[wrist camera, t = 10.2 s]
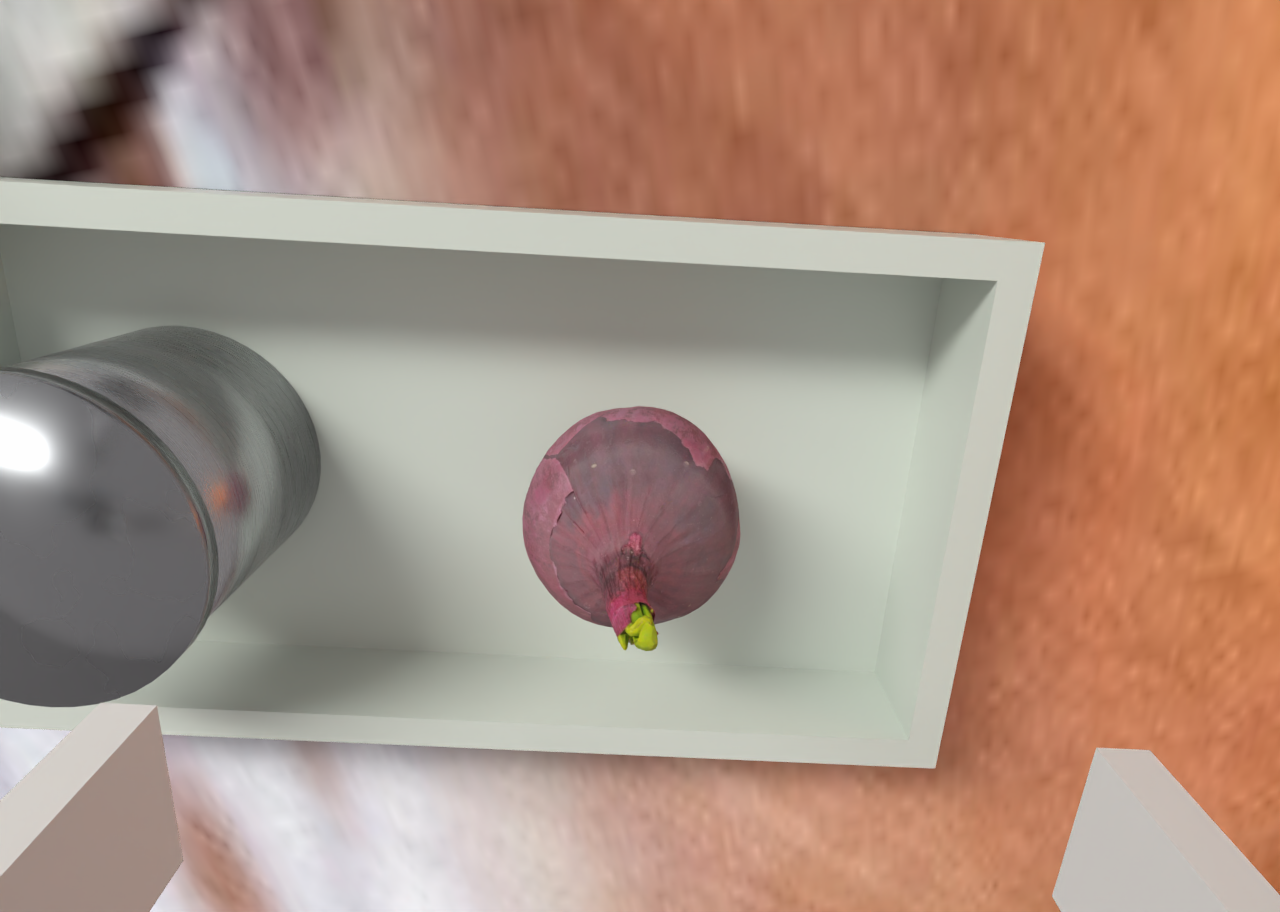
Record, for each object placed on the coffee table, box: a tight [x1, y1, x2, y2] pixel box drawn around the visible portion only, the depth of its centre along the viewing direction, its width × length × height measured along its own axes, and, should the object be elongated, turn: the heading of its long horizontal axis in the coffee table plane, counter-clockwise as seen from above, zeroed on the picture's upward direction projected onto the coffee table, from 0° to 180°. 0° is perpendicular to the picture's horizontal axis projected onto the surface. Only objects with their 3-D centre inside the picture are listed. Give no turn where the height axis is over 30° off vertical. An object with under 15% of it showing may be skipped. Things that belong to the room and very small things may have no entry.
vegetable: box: [522, 406, 740, 651], centre depth 21 cm, size 6×6×10 cm
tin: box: [0, 326, 321, 707], centre depth 22 cm, size 8×8×8 cm
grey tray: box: [0, 177, 1045, 768], centre depth 24 cm, size 16×30×4 cm, turn 87°
